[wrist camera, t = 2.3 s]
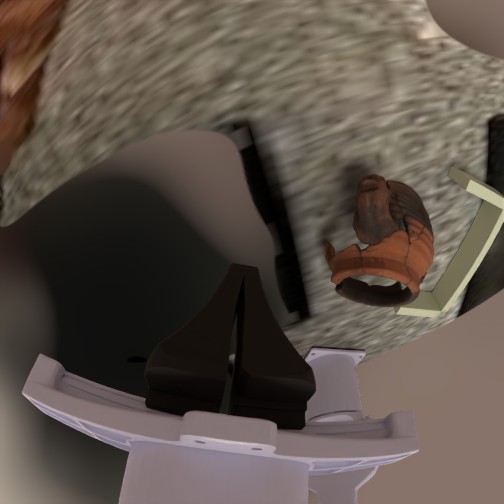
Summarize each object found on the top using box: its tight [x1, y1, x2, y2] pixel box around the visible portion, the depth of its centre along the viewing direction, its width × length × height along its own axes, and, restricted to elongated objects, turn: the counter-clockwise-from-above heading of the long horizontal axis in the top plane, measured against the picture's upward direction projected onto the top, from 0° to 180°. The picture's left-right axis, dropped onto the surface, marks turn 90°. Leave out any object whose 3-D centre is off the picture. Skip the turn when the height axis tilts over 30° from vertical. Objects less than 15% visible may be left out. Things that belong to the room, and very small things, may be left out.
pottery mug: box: [325, 174, 434, 307], centre depth 20 cm, size 12×10×8 cm
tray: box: [394, 166, 504, 318], centre depth 21 cm, size 15×7×3 cm, turn 171°
